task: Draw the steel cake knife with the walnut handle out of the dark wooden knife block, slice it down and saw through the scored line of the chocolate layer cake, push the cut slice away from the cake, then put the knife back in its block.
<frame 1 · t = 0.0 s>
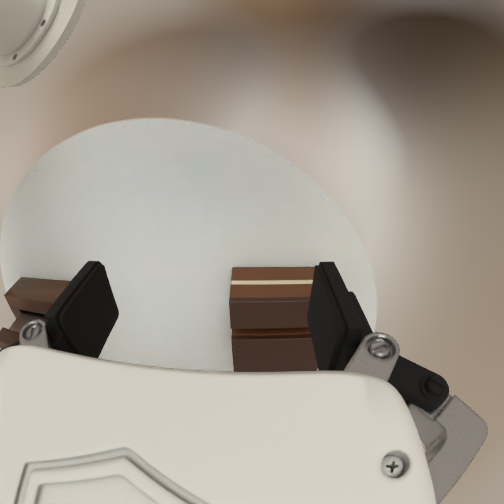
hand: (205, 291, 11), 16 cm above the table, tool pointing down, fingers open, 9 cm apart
knife: (33, 320, 27), in the knife block
cake: (274, 318, 34), on the table
cake slice: (277, 280, 31), on the table
knife block: (52, 295, 32), on the table
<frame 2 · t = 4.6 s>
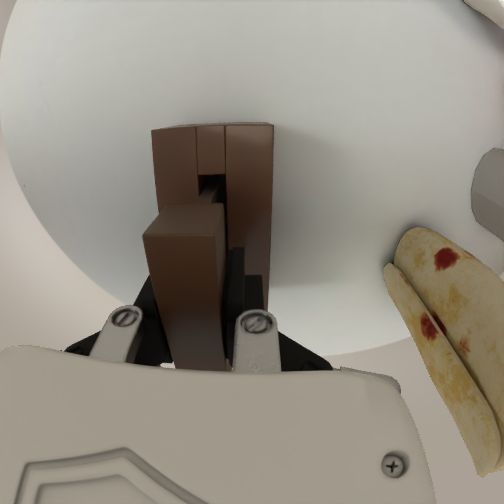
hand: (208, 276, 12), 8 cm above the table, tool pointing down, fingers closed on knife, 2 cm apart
knife: (213, 255, 14), in the knife block, touching gripper
food model: (407, 260, 21), on the table
knife block: (223, 214, 19), on the table
cup: (494, 188, 18), on the table
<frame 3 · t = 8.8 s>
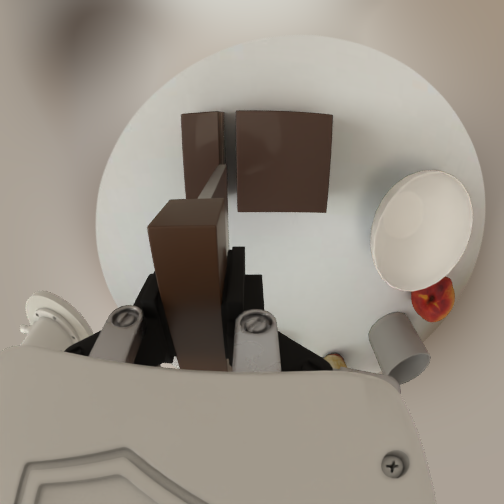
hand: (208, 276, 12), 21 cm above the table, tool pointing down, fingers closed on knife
knife: (214, 251, 14), point 19 cm above the table, touching gripper
cake: (260, 154, 30), on the table
cake slice: (209, 155, 30), on the table
cup: (388, 328, 44), on the table
bowl: (402, 214, 33), on the table
fruit: (423, 282, 39), on the table
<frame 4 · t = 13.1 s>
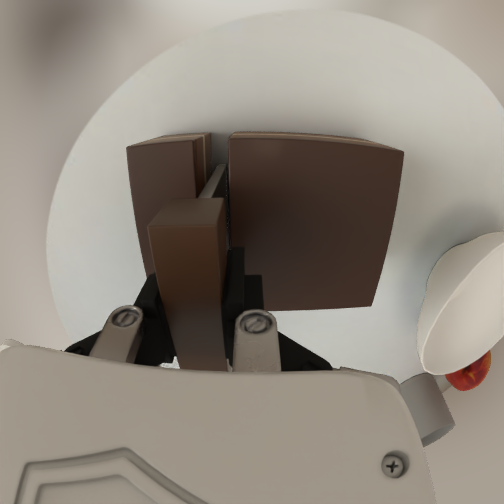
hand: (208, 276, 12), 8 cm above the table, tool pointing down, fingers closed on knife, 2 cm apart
knife: (214, 250, 14), on the table, touching gripper
cake: (270, 201, 19), on the table
cake slice: (189, 202, 19), on the table
cup: (410, 388, 33), on the table
bowl: (451, 274, 23), on the table
fruit: (456, 341, 29), on the table
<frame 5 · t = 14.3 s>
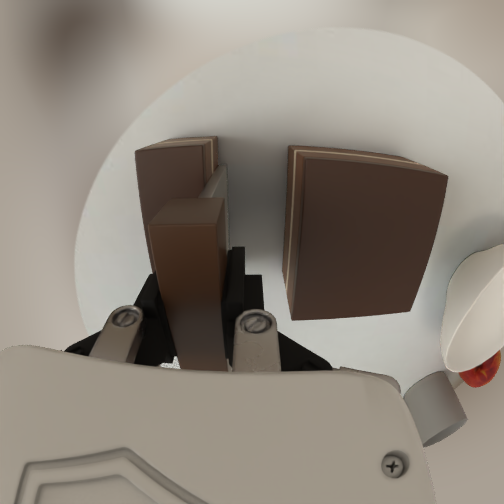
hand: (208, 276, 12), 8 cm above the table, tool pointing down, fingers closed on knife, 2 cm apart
knife: (214, 250, 14), on the table, touching cake slice, gripper
cake: (318, 213, 20), on the table
cake slice: (195, 205, 19), on the table, touching knife
cup: (424, 386, 34), on the table
bowl: (468, 279, 24), on the table
fruit: (468, 341, 29), on the table
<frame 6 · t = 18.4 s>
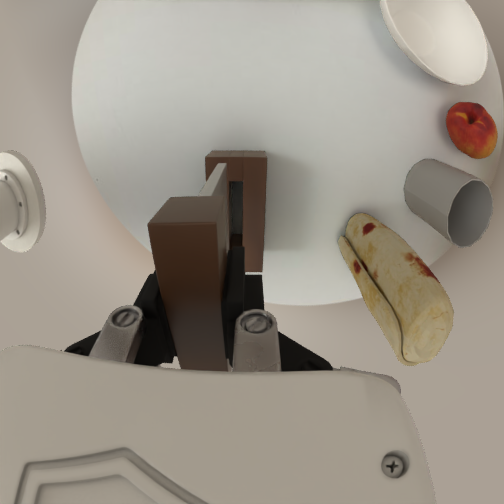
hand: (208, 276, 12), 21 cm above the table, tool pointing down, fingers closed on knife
knife: (214, 249, 14), point 19 cm above the table, touching gripper
food model: (357, 236, 35), on the table
knife block: (237, 203, 33), on the table
cup: (426, 187, 31), on the table
bowl: (413, 32, 21), on the table
fruit: (455, 125, 27), on the table
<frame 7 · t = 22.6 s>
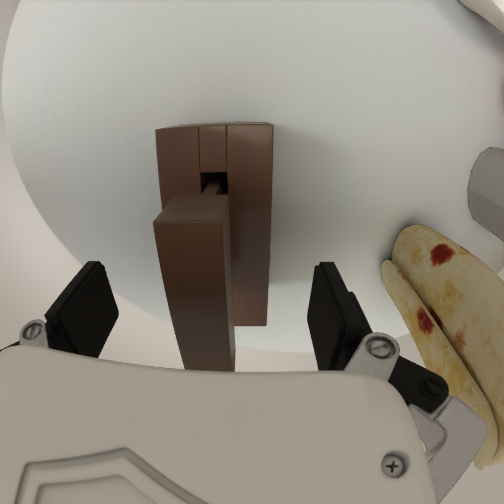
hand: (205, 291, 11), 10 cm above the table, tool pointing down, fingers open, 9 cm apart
knife: (216, 248, 14), in the knife block
food model: (405, 257, 22), on the table
knife block: (224, 211, 20), on the table
cup: (491, 186, 18), on the table
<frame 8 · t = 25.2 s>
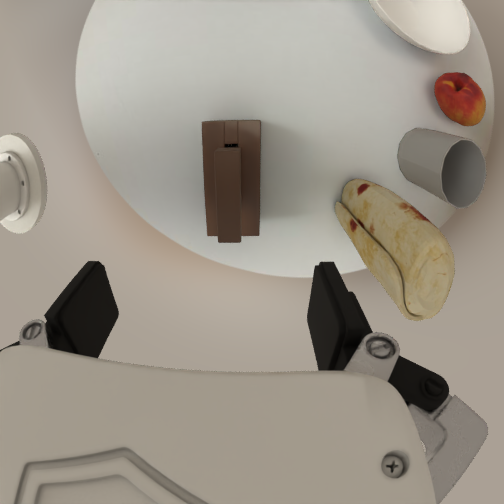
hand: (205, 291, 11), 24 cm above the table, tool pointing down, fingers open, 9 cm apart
knife: (232, 181, 27), in the knife block
food model: (353, 204, 35), on the table
knife block: (234, 171, 33), on the table
cup: (420, 156, 31), on the table
bowl: (397, 11, 21), on the table
fruit: (444, 97, 26), on the table
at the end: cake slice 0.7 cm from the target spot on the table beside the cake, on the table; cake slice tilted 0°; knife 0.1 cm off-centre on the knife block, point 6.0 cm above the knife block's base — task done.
